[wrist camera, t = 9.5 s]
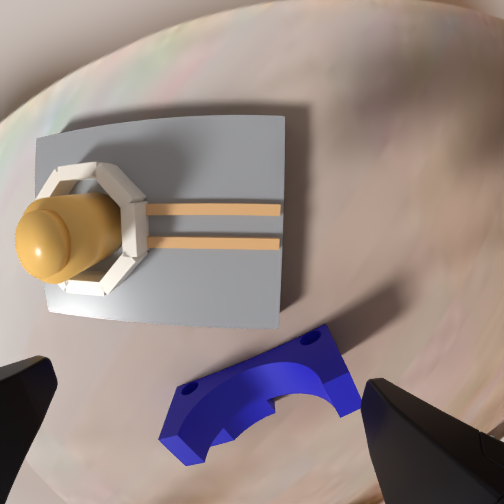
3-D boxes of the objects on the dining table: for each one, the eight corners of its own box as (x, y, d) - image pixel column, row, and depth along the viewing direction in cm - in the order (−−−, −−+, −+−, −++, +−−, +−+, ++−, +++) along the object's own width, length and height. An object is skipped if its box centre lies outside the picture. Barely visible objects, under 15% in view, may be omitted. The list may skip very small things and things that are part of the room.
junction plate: (281, 123, 17) (289, 106, 13) (276, 315, 19) (281, 345, 15) (53, 141, 17) (18, 135, 13) (62, 301, 19) (33, 322, 15)
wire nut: (123, 189, 16) (65, 194, 10) (128, 258, 17) (76, 291, 11) (68, 195, 16) (5, 203, 10) (74, 258, 17) (16, 287, 11)
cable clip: (208, 422, 22) (198, 477, 16) (177, 385, 21) (158, 439, 15) (346, 368, 21) (370, 420, 15) (325, 322, 20) (349, 371, 14)
